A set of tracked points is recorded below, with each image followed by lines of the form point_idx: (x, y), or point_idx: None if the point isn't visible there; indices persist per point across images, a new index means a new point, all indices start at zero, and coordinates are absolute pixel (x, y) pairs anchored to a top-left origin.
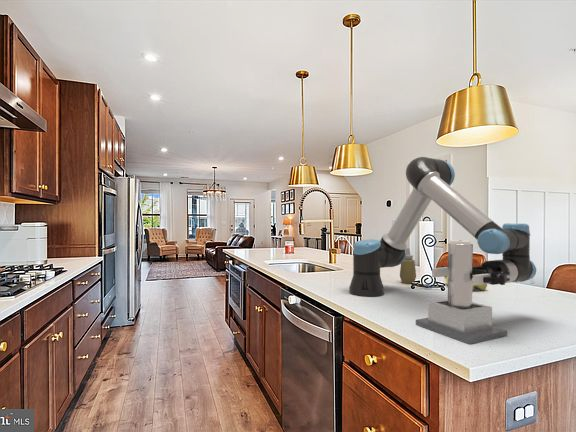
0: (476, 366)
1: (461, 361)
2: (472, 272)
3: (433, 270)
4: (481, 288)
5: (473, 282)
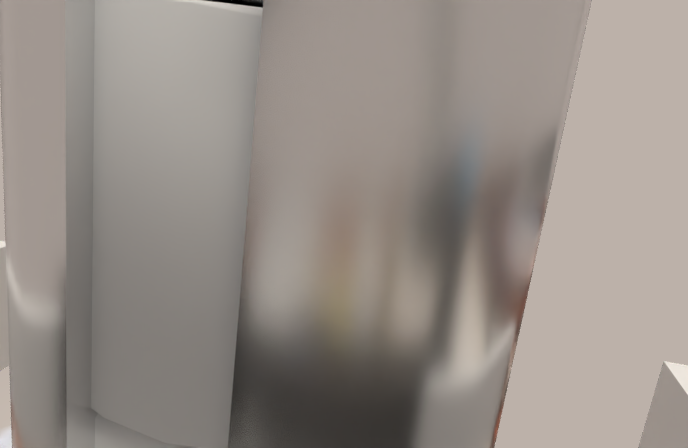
0: (8, 429)
1: None
2: (13, 415)
3: (666, 390)
4: None
5: (6, 327)
